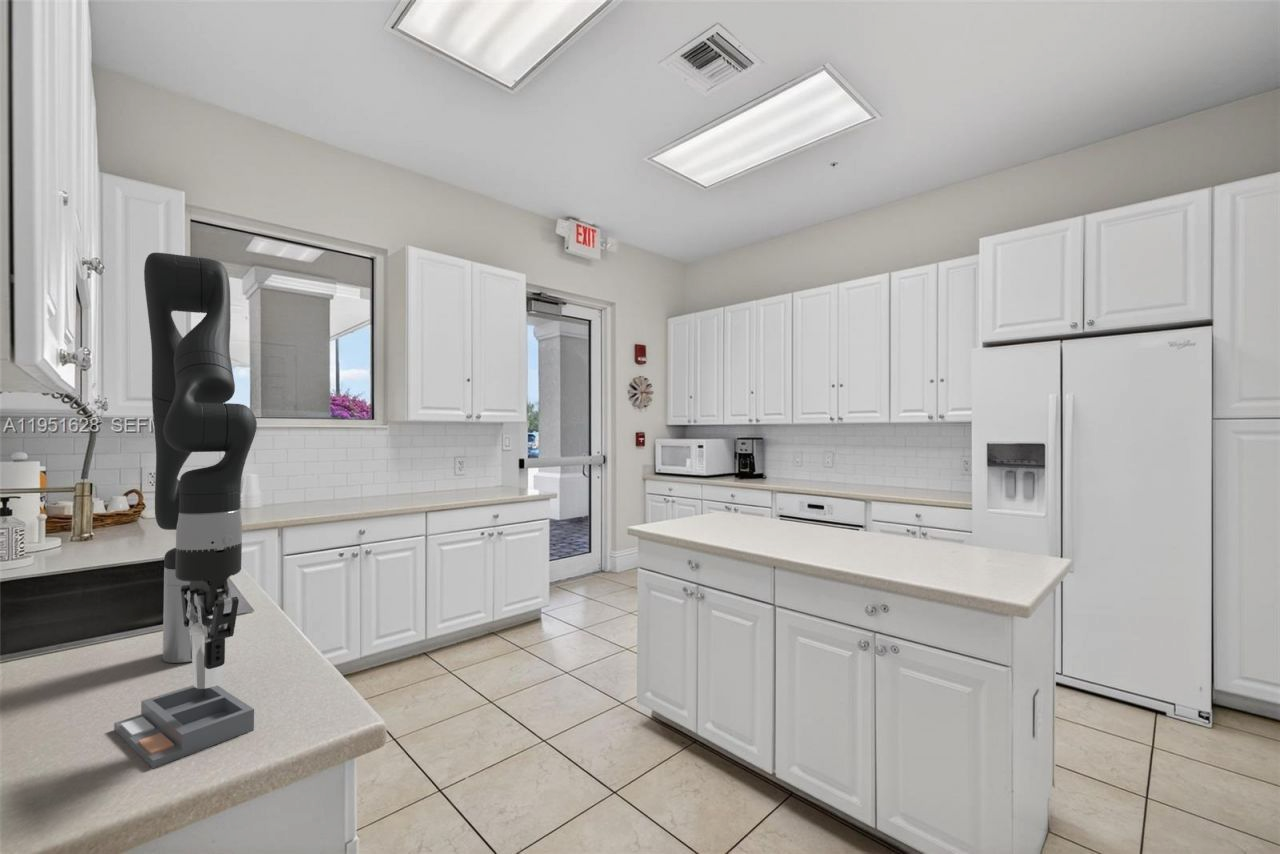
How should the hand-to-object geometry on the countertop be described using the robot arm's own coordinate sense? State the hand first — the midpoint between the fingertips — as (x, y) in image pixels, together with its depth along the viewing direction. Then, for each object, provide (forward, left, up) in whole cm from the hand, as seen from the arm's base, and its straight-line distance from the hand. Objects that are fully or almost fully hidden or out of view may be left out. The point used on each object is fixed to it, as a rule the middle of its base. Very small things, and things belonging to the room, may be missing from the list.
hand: (207, 662), depth 81 cm
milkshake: (0, 0, -3) cm, 3 cm away
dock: (-4, -2, -10) cm, 11 cm away
